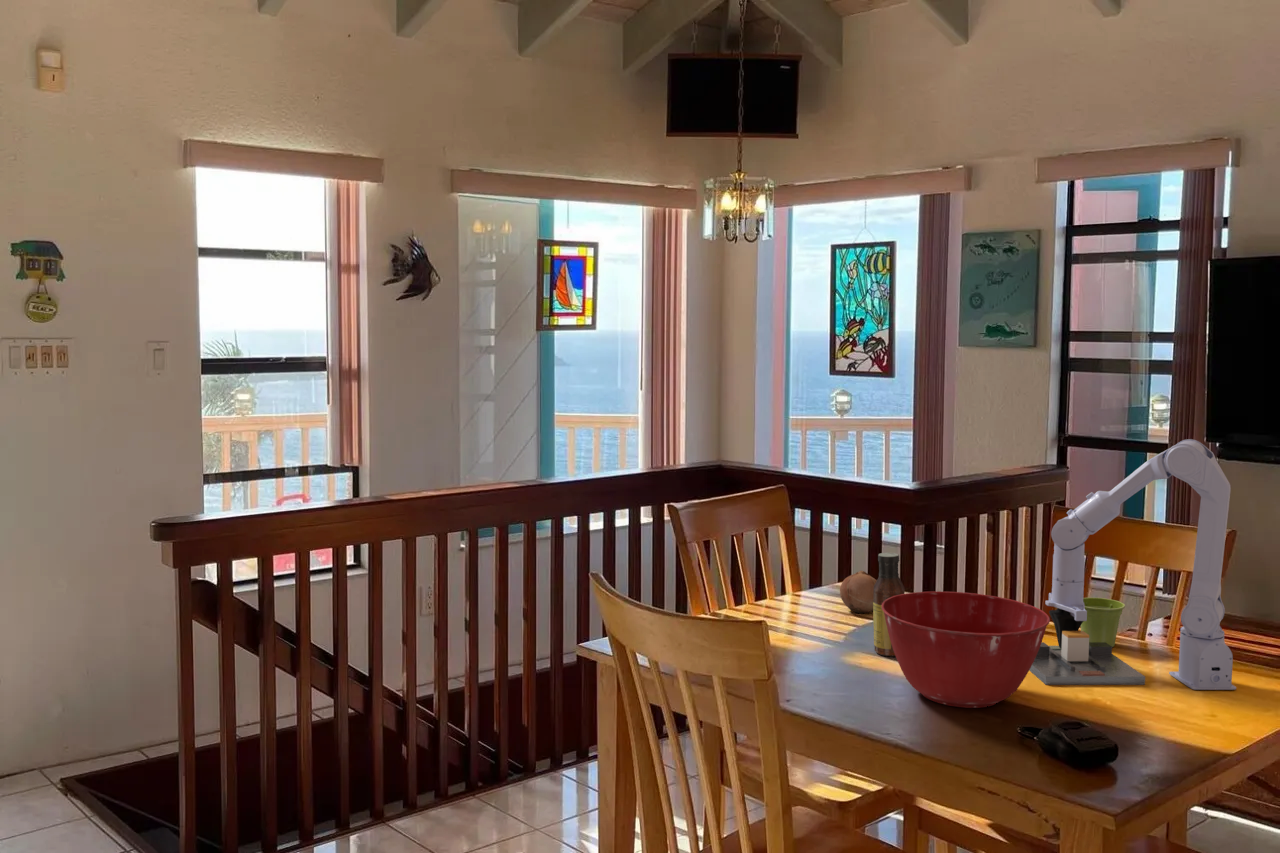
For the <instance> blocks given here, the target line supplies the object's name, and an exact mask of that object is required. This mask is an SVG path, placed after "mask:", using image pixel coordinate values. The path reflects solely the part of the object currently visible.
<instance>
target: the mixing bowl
mask: <svg viewBox="0 0 1280 853" xmlns="http://www.w3.org/2000/svg"><path fill="white" fill-rule="evenodd" d="M881 607H882V610H883V612H884V615H885V620H886V625H887V629H888V634H889V637H890V641H891V644H892V647H893V650H894V653H895V656H894V657H895V658H896V660H897V663H898V665H899V667H900V669H901V672H902V674H903V675H904V677H905V679H906V680H907V681H908V683H909V684H910V685H911V687H912V688H914V690H915V691H917V692H919V693H920V694H921V695H922V696H923V697H924V698H926V699H928V700H930V701H933V702H935V703H938V704H941V705H945V706H950V707H957V708H966V709H967V708H969V709H978V708H987V706H988V707H991V706H994V705H996V703H997V704H998V703H999V702H1002V701H1003V700H1006V699H1008V698H1009V697H1011V696H1012V695H1013V694H1014V693H1015V692H1017V690H1018V689H1019V687H1020V686H1021V684H1022V683H1023V682H1024V680H1025V678H1027V674H1028V673H1029V671H1030V668H1031V666H1032V664H1033V662H1034V660H1035V658H1036V655H1037V653H1038V650H1039V648H1040V645H1041V642H1043V639H1044V637H1045V636H1044V635H1045V633H1046V630H1047V626H1048V625H1049V624H1050V621H1051V617H1050V615H1048V614H1047V613H1046V612H1045V611H1044V610H1042V609H1040V608H1038V607H1035V606H1033V605H1031V604H1029V603H1025V602H1021V601H1019V600H1018V601H1017V600H1015V599H1010V598H1006V597H999V596H996V595H989V594H983V593H982V594H981V593H980V594H979V593H973V592H964V591H963V592H960V591H918V592H909V593H908V592H905V594H901V595H896V596H893V597H890V598H888V599H886V600H885V601H884V602H883V603H882V606H881Z"/></svg>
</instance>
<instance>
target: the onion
mask: <svg viewBox="0 0 1280 853" xmlns="http://www.w3.org/2000/svg"><path fill="white" fill-rule="evenodd" d="M876 581H877V579H875V578H874V577H873V576H871V575H870V573H868V572H866V571H865V570H859V571H857V572H855V573H853V574H850V575H848V576H847V577H845V578H844V579H843V581H842V582H841V585H840V586H839V594H840V598H841V601H842V603H843V604H844V605H845V606H846V607H847V609H849V610H850V611H851V612H853V613H858V614H859V615H860V614H861V613H862V614H864V613H870V612H873V596H874V585H875V583H876Z"/></svg>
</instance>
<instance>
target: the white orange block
mask: <svg viewBox="0 0 1280 853" xmlns="http://www.w3.org/2000/svg"><path fill="white" fill-rule="evenodd" d="M1061 656H1062V657H1063V658H1064V659H1065V660H1067V661H1088V656H1089V635H1088V634H1087V633H1085V632H1084V631H1081V630H1078V631H1062V649H1061Z"/></svg>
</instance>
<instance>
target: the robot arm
mask: <svg viewBox="0 0 1280 853" xmlns="http://www.w3.org/2000/svg"><path fill="white" fill-rule="evenodd" d="M1172 476H1174V477H1175V478H1177V479H1179V480H1181V481H1183V482H1185V483H1186V484H1188V485H1189V486H1190V487H1191V488H1192V489H1193V490H1194V491H1195V492H1196V493H1197V494H1198V495H1199V497H1200V504H1199V511H1198V512H1199V514H1198V522H1197V533H1196V539H1195V540H1196V541H1195V548H1194V549H1195V551H1194V560H1193V570H1192V578H1191V580H1192V581H1191V585H1190V590H1189V595H1188V601H1187V604H1186V605H1185V606H1184V608H1183V609H1182V612H1181V615H1180V620H1181V624H1182V627H1180V635H1179V654H1178V655H1179V656H1178V657H1179V658H1178V671H1168V675H1170V676H1172V677H1173V678H1174V679H1176V680H1178V682H1181V683H1182V684H1183V685H1185V686H1186V687H1188V688H1189V689H1192V690H1197V691H1199V690H1200V691H1202V690H1203V691H1204V690H1205V691H1207V690H1212V691H1213V690H1214V691H1215V690H1216V691H1217V690H1218V691H1220V690H1223V691H1225V690H1227V691H1228V690H1229V691H1231V690H1232V691H1233V690H1235V691H1236V690H1237V686H1235V684H1232V682H1233V681H1232V680H1233V679H1232V678H1233V664H1234V663H1233V662H1234V661H1233V658H1234V656H1233V655H1234V654H1233V652H1232V651H1231V649H1230V647H1229V646H1228V645H1227V644H1226V642H1225V631H1224V630H1223V629H1222V626H1221V625H1220V623H1221V621H1222V620H1223V619H1224V617H1225V612H1226V610H1225V609H1226V608H1225V605H1224V603H1223V600H1222V597H1221V595H1222V582H1221V580H1222V572H1223V563H1224V556H1225V548H1226V547H1225V546H1226V545H1225V544H1226V536H1227V526H1228V517H1229V509H1230V500H1231V498H1230V497H1231V490H1232V489H1231V483H1230V482H1229V480H1228V478H1227V476H1226V474H1225V473H1224V471H1223V469H1222V468H1221V466H1220V464H1219V463H1218V461H1217V459H1216V456H1215V454H1214V452H1213V451H1212V450H1210V449H1209V448H1208V447H1207V446H1206V445H1205V444H1203V443H1202V442H1201V441H1199V440H1196V439H1192V438H1190V439H1189V438H1188V439H1187V438H1186V439H1183V440H1181V441H1179V442H1177V443H1176V444H1175V445H1172V446H1171V447H1169V448H1167V449H1166V450H1164V451H1162V452H1160V453H1158V454H1156V455H1154V456H1153V457H1151V458H1150V459H1148V460H1147V461H1145V462H1144V463H1143V464H1141V465H1140V466H1139V467H1138V468H1136V469H1135V470H1134V471H1133V472H1132V473H1130V474H1129V475H1128V476H1127V477H1125V478H1124V479H1123V480H1122V481H1120V482H1119V483H1118V484H1117V485H1115V486H1114V487H1113V488H1112V489H1110V490H1109V491H1106V490H1098V491H1096V492H1095V493H1094V492H1093V491H1091V492H1090V493H1088V494H1087V495H1086V496H1085V498H1086V500H1084V501H1083V502H1082V503H1080V504H1079V505H1078V506H1077V507H1075V508H1074V509H1072V508H1070V509H1069V510H1068V511H1067V512H1066V514H1067V516H1065V517H1063V518H1061V519H1058V520H1057V521H1056V523H1055V524H1054V525H1053V527H1052V529H1051V532H1050V533H1051V534H1050V535H1051V539H1052V541H1053V544H1054V546H1053V550H1054V551H1053V554H1052V579H1051V580H1052V581H1051V582H1052V583H1051V585H1052V586H1051V592H1049V593H1048V600H1045V605H1046V606H1047V607H1054V608H1056V609H1050V610H1049V611H1048V614H1049V617H1050V619H1051V621H1052V622H1053V623H1052V624H1053V625H1054V629H1055V633H1056V634H1055V635H1056V639H1057V644H1058V646H1059V648H1061V649H1062V631H1080V629H1081V624H1082V623H1083V621H1087V611H1086V610H1085V605H1084V602H1083V598H1084V593H1085V592H1084V589H1085V587H1084V586H1085V565H1086V564H1085V562H1086V561H1085V560H1086V556H1085V547H1086V546H1085V542H1086V541H1087V539H1089V536H1090V535H1094V534H1096V533H1097V532H1098V531H1099V530H1101V529H1102V528H1103V527H1105V526H1106V525H1108V524H1109V523H1110V522H1111V521H1113V520H1114V519H1115V518H1117V517H1118V516H1120V514H1121V505H1122V503H1124V502H1125V501H1127V500H1129V498H1131V497H1132V496H1134V495H1135V494H1137V493H1138V492H1139V491H1140V490H1142V489H1144V488H1145V487H1146V486H1148V485H1149V484H1150V483H1152V482H1154V481H1157V480H1158V481H1159V480H1165V479H1170V478H1171V477H1172Z"/></svg>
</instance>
